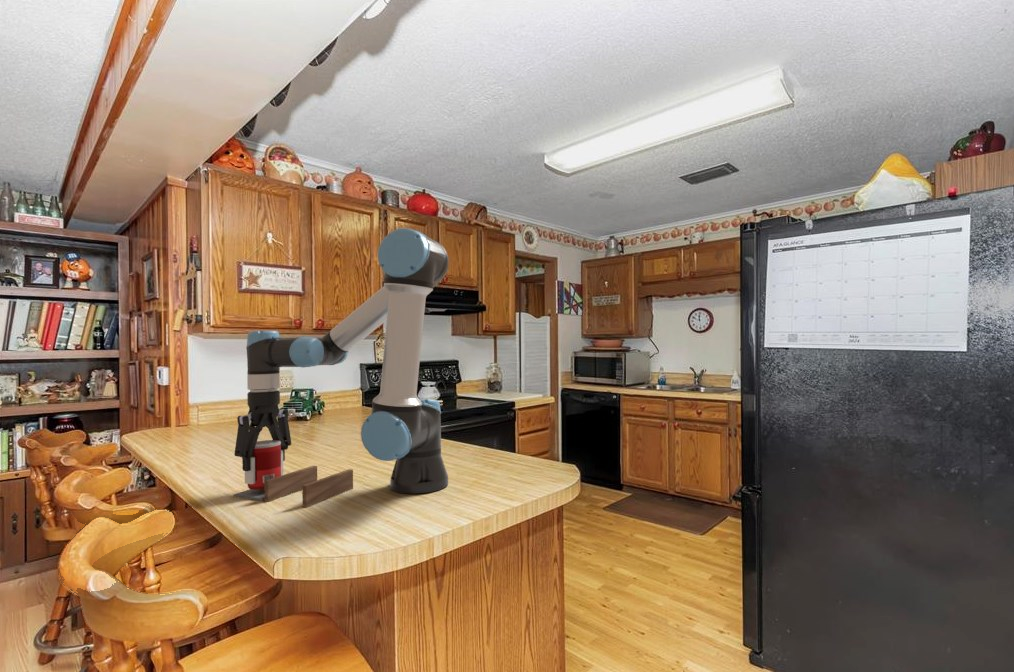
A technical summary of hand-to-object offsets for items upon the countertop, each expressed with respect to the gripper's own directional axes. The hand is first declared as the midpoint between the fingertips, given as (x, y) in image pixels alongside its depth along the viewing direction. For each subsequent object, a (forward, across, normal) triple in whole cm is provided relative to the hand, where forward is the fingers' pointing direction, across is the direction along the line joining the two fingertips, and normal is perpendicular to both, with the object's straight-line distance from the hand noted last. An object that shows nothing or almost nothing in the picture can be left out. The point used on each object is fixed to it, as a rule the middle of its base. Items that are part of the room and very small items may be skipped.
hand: (264, 478), depth 126 cm
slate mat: (+4, 0, 0) cm, 4 cm away
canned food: (+2, 0, 0) cm, 2 cm away
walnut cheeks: (+4, -3, +12) cm, 13 cm away
